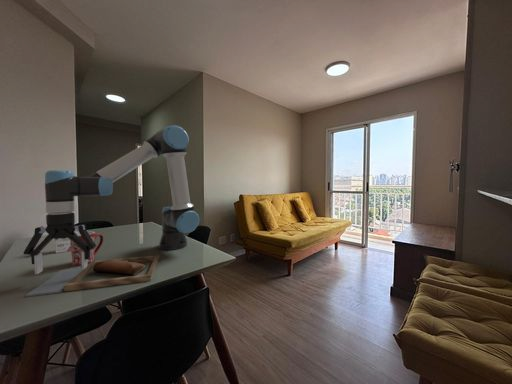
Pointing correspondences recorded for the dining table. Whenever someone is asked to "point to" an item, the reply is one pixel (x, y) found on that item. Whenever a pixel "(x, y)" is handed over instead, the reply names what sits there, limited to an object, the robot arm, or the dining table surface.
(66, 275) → the felt pad
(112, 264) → the sunglasses case
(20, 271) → the dining table surface
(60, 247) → the ink box
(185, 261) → the dining table surface
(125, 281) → the open square wooden frame
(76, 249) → the mug
